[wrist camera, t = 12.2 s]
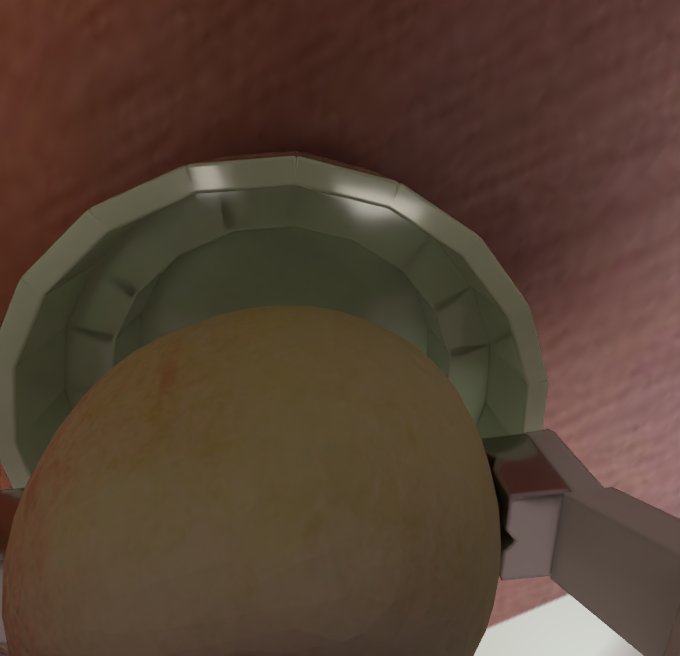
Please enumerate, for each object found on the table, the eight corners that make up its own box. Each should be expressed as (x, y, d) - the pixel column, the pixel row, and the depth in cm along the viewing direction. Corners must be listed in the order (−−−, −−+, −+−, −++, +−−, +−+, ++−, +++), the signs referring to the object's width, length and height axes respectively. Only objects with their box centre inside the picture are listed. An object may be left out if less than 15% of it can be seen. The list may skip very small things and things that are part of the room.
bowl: (477, 135, 13) (579, 132, 8) (463, 476, 17) (523, 597, 13) (37, 170, 12) (-124, 188, 7) (144, 513, 17) (85, 655, 12)
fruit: (150, 214, 9) (-419, 510, 2) (471, 310, 11) (857, 687, 3) (101, 498, 12) (-222, 1088, 4) (365, 543, 13) (449, 1046, 6)
